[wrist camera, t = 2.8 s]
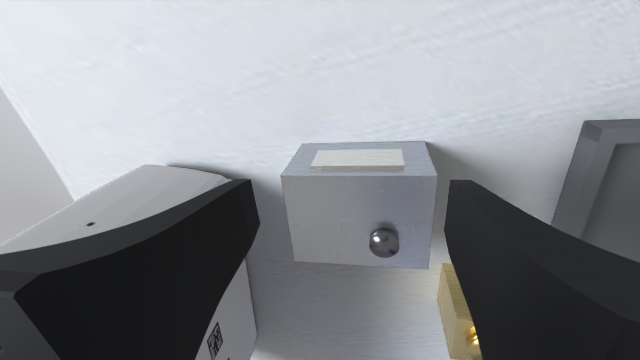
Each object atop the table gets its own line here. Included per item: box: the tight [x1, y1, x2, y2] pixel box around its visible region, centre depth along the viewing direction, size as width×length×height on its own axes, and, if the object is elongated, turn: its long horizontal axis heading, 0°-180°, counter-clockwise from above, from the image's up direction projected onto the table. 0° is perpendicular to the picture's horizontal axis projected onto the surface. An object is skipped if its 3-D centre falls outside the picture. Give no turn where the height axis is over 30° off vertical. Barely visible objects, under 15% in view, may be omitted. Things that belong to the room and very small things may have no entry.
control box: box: [281, 141, 438, 269], centre depth 18 cm, size 6×8×6 cm
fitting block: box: [437, 263, 483, 360], centre depth 21 cm, size 4×4×6 cm
